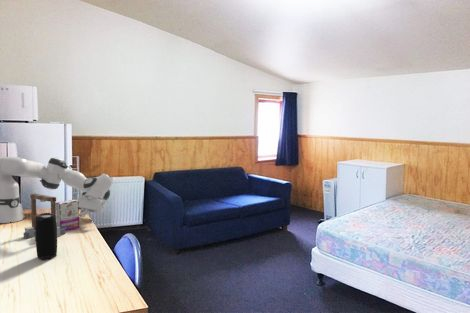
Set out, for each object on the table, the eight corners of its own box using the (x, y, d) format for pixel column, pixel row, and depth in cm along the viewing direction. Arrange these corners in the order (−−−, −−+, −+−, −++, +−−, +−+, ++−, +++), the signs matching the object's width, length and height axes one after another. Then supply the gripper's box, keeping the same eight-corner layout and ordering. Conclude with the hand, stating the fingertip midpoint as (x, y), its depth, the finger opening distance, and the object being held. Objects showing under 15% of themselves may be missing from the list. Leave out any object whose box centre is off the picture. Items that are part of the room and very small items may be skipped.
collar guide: (22, 238, 188) (21, 228, 188) (50, 230, 202) (50, 221, 202) (38, 242, 182) (38, 233, 181) (66, 234, 196) (66, 225, 195)
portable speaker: (37, 262, 157) (35, 218, 155) (35, 255, 165) (34, 213, 163) (58, 258, 161) (57, 216, 160) (56, 252, 169) (55, 211, 168)
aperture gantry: (31, 234, 195) (29, 194, 193) (36, 233, 197) (34, 193, 195) (52, 240, 186) (51, 198, 184) (57, 238, 189) (56, 197, 187)
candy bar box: (75, 226, 210) (74, 199, 209) (79, 228, 207) (79, 200, 206) (56, 231, 201) (55, 202, 200) (60, 232, 198) (59, 203, 197)
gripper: (109, 202, 216) (96, 221, 209) (86, 198, 226) (73, 216, 218) (103, 196, 212) (90, 215, 204) (80, 192, 222) (66, 211, 214)
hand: (81, 216), depth 211 cm, fingers closed
